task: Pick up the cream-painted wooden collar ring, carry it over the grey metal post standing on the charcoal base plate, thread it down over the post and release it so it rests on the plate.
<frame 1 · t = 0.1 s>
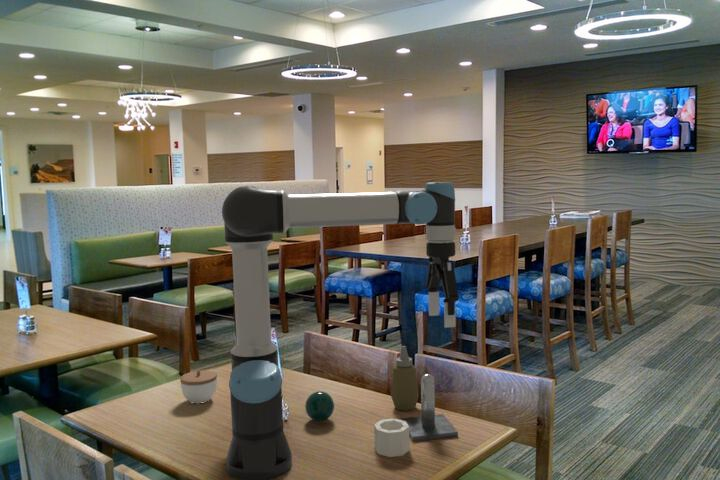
hand: (441, 321, 157), 28 cm above the table, fingers open, 13 cm apart
post: (428, 429, 156), on the table
lidded jar: (200, 401, 181), on the table
ring: (392, 449, 145), on the table
sphere: (320, 420, 164), on the table
squeeze bottle: (405, 408, 171), on the table
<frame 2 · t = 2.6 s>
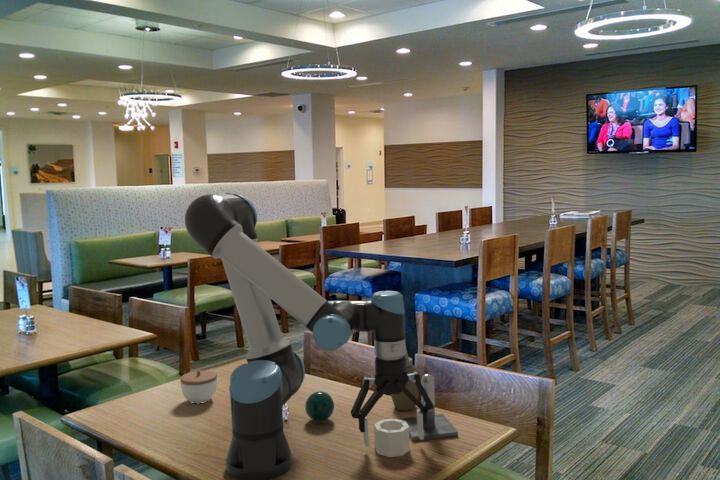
hand: (393, 440, 145), 2 cm above the table, fingers open, 13 cm apart
nothing on the table moved.
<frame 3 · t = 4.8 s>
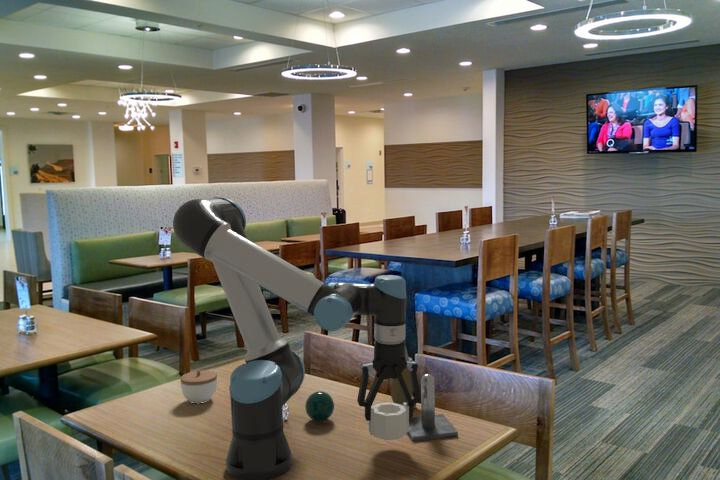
hand: (388, 431, 145), 4 cm above the table, fingers closed on ring, 8 cm apart
ring: (388, 432, 145), point 4 cm above the table, touching gripper
everything else where it was.
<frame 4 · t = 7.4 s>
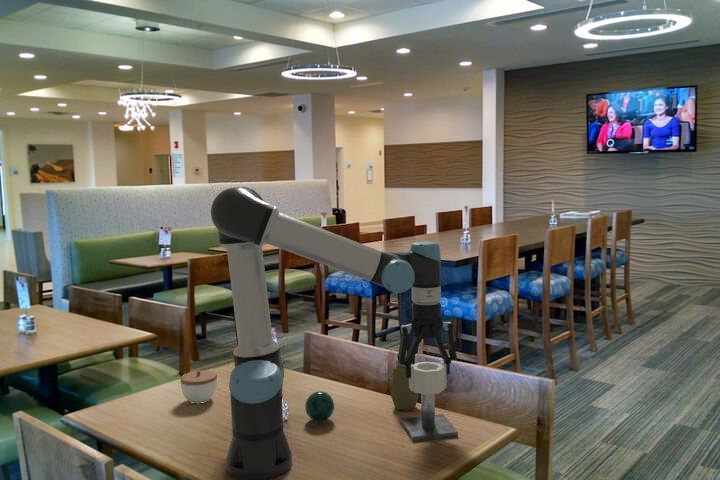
hand: (427, 387, 155), 11 cm above the table, fingers closed on ring, 8 cm apart
ring: (427, 388, 155), point 11 cm above the table, touching gripper
everything else where it was.
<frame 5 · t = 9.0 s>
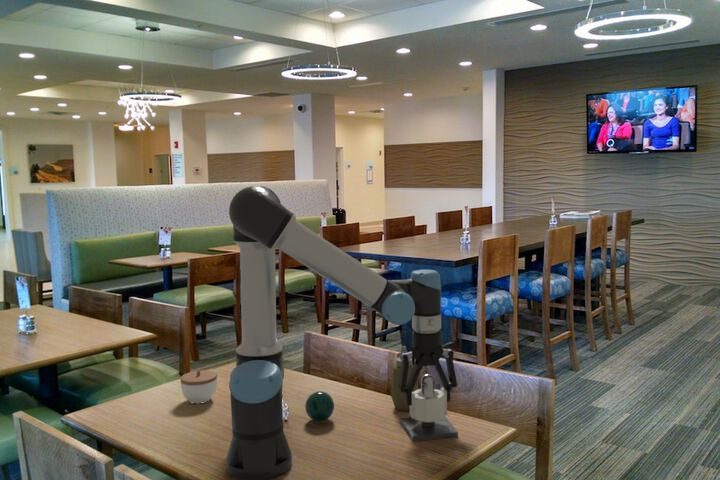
hand: (428, 414, 156), 4 cm above the table, fingers closed on ring, 8 cm apart
ring: (428, 415, 156), point 4 cm above the table, touching gripper
everything else where it was.
when the fingers open (3 cm above the table, at t = 10.0 s): ring drops 2 cm, resting on post.
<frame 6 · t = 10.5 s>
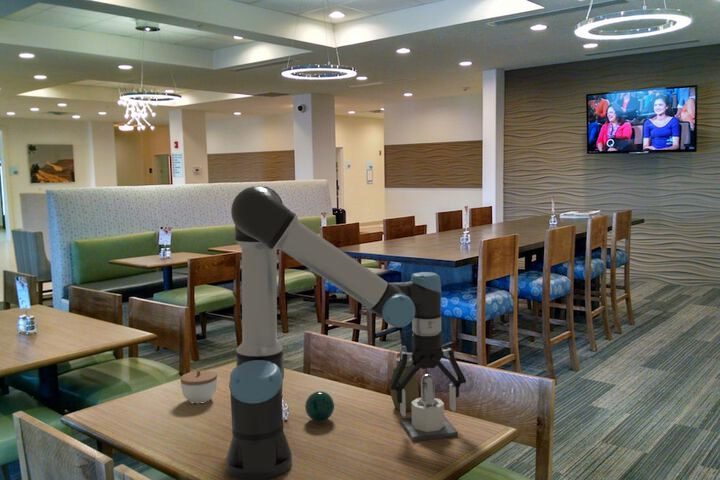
hand: (428, 411, 156), 5 cm above the table, fingers open, 13 cm apart
ring: (428, 425, 156), point 1 cm above the table, touching post
everything else where it was.
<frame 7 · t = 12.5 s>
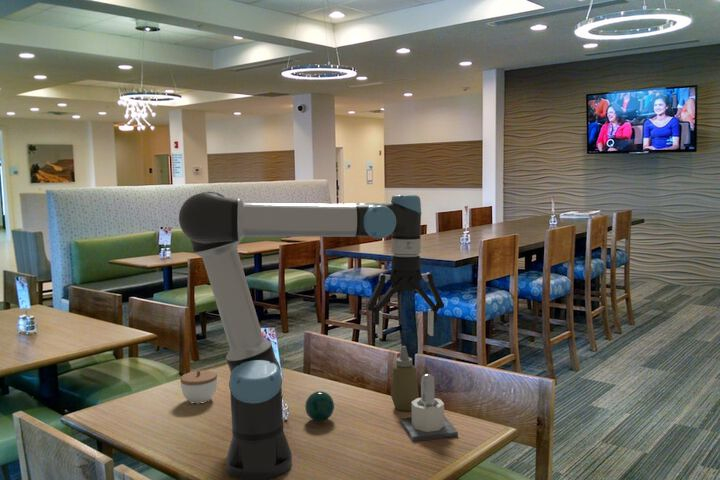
hand: (405, 335, 155), 25 cm above the table, fingers open, 13 cm apart
nothing on the table moved.
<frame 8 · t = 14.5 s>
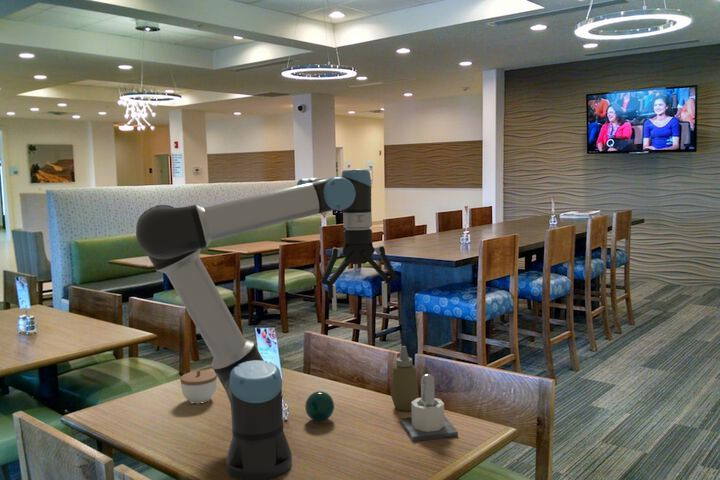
hand: (359, 308, 158), 32 cm above the table, fingers open, 13 cm apart
nothing on the table moved.
at the end: ring 0.1 cm off-centre on the post, point 1.2 cm above the post's base; ring tilted 0°; the gripper is holding nothing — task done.
